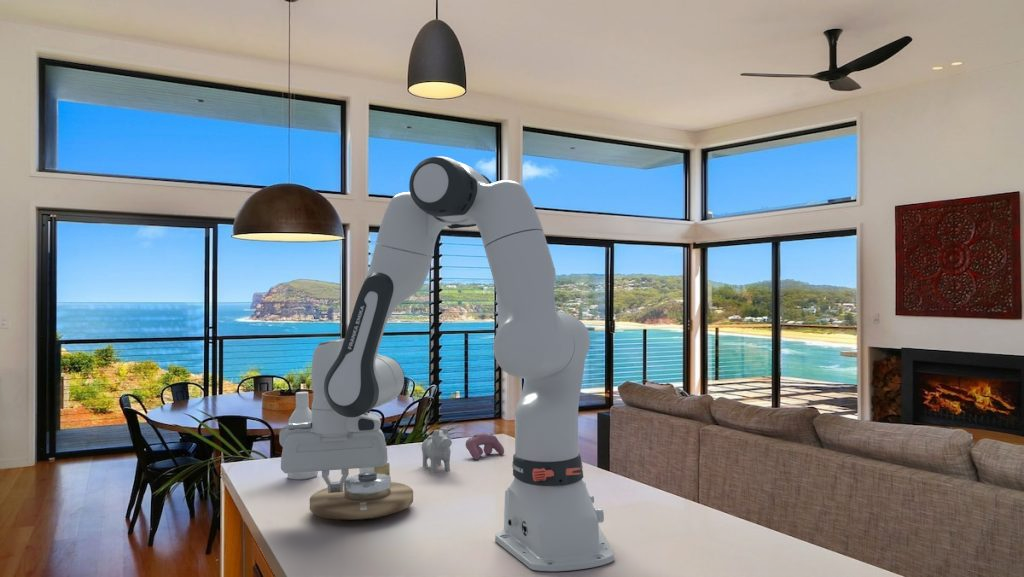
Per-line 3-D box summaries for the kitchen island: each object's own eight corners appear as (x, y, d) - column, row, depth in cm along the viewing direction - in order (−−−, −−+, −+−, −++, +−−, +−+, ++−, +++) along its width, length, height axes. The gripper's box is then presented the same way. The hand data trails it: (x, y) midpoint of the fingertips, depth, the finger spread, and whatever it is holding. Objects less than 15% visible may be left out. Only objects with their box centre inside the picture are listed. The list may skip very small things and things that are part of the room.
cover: (391, 499, 129) (391, 478, 129) (343, 502, 127) (343, 481, 127) (390, 486, 137) (390, 467, 138) (345, 489, 136) (345, 469, 136)
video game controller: (497, 458, 181) (490, 433, 183) (506, 453, 178) (499, 428, 180) (468, 464, 175) (460, 438, 177) (477, 459, 171) (469, 433, 174)
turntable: (418, 513, 125) (418, 483, 125) (306, 524, 120) (306, 492, 120) (408, 485, 144) (408, 459, 144) (312, 493, 139) (311, 466, 139)
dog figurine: (436, 477, 156) (436, 431, 157) (419, 465, 168) (418, 423, 168) (457, 474, 159) (457, 429, 159) (439, 462, 170) (438, 421, 170)
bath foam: (292, 482, 154) (292, 395, 154) (283, 475, 159) (282, 392, 160) (322, 477, 158) (321, 392, 158) (312, 471, 164) (311, 389, 164)
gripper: (277, 427, 125) (278, 501, 125) (387, 421, 130) (388, 492, 130) (280, 421, 131) (281, 491, 131) (385, 415, 136) (386, 483, 136)
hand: (335, 491), depth 131 cm, fingers closed
